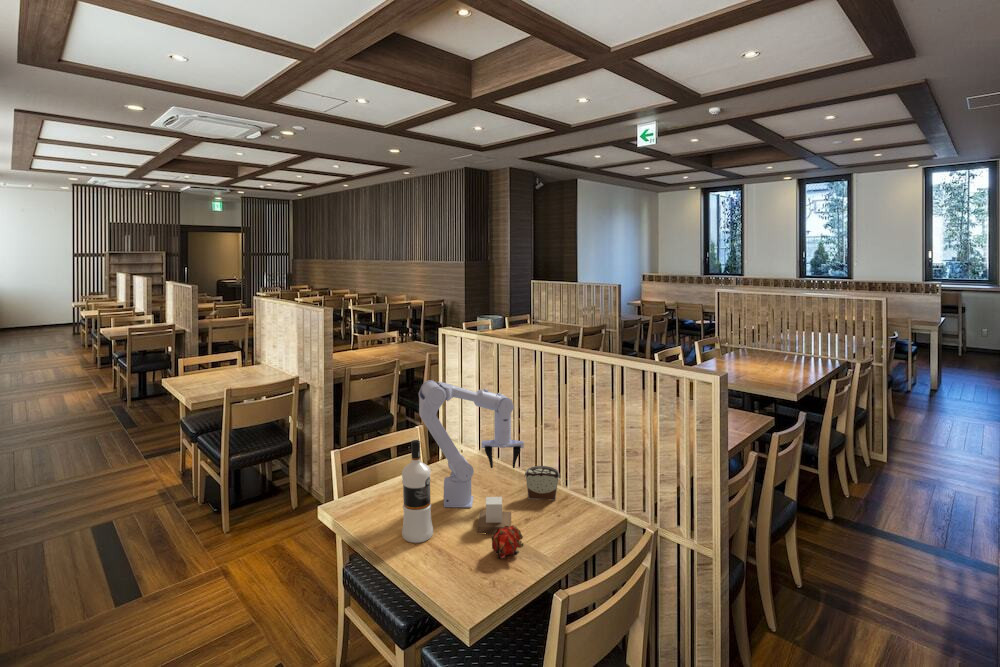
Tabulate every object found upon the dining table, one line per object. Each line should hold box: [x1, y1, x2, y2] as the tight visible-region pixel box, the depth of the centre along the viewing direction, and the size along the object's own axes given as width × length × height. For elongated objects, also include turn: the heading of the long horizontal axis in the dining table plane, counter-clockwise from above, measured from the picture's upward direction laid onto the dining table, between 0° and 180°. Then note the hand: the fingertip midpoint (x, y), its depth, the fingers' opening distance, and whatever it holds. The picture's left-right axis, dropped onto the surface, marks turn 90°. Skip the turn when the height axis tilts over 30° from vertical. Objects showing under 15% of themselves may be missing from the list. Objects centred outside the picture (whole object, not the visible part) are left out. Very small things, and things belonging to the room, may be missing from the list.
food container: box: [524, 465, 561, 501], centre depth 188 cm, size 12×6×10 cm, turn 84°
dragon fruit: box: [491, 524, 525, 560], centre depth 152 cm, size 8×8×12 cm
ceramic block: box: [485, 496, 503, 523], centre depth 167 cm, size 5×5×6 cm
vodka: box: [401, 439, 434, 544], centre depth 160 cm, size 9×9×30 cm
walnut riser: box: [476, 510, 512, 535], centre depth 168 cm, size 10×10×3 cm
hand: (502, 466), depth 188 cm, fingers open, 7 cm apart
